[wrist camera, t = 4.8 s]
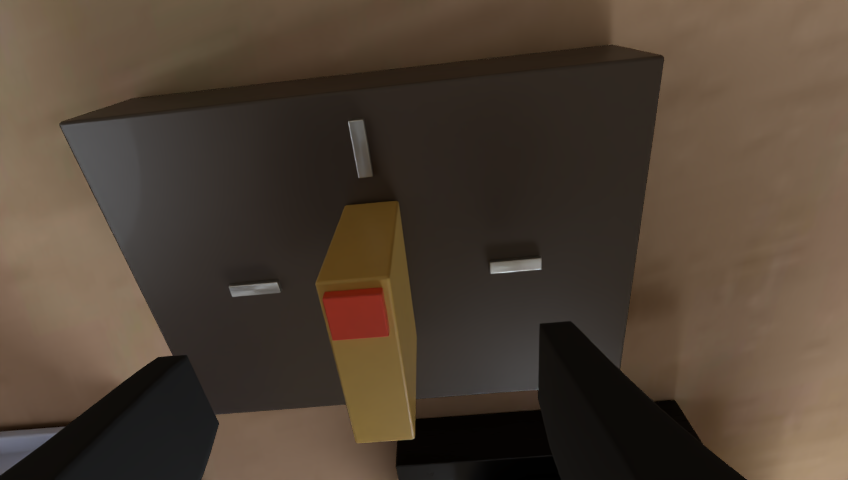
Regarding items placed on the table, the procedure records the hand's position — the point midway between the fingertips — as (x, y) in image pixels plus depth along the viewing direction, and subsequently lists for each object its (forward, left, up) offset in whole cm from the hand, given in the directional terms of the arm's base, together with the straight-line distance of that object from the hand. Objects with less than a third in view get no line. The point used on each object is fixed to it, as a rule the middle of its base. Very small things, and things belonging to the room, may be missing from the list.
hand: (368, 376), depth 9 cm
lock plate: (0, 0, -7) cm, 7 cm away
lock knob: (0, 0, -4) cm, 4 cm away
